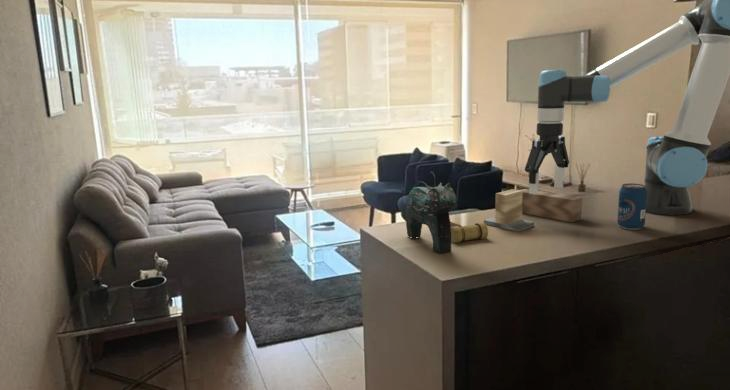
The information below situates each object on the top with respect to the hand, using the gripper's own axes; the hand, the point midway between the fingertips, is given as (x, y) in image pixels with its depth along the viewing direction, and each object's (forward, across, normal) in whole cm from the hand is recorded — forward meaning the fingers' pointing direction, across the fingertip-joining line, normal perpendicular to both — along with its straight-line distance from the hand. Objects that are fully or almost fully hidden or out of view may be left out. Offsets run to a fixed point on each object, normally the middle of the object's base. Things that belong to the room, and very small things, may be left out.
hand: (546, 190), depth 159 cm
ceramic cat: (+9, +47, -5) cm, 48 cm away
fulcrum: (+8, +17, -1) cm, 19 cm away
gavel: (+9, +34, -8) cm, 36 cm away
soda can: (+8, -4, +24) cm, 26 cm away
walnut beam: (+8, 0, 0) cm, 8 cm away
